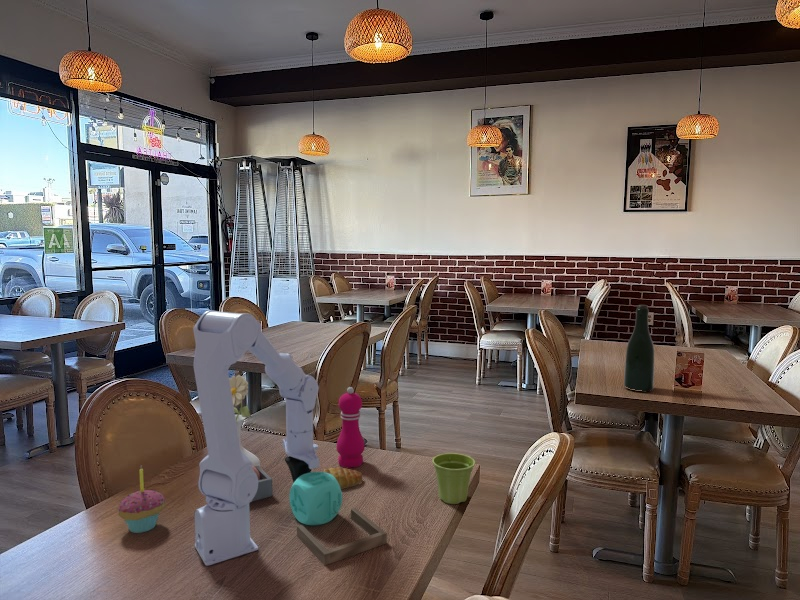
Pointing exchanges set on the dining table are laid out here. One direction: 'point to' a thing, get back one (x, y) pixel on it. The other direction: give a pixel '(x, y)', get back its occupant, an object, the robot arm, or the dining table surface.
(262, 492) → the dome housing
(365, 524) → the frame
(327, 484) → the decorative dice
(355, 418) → the pepper mill
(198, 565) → the dining table surface
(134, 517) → the cupcake
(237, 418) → the flower in vase
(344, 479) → the pastry
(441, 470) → the plant pot
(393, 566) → the dining table surface
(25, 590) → the dining table surface
